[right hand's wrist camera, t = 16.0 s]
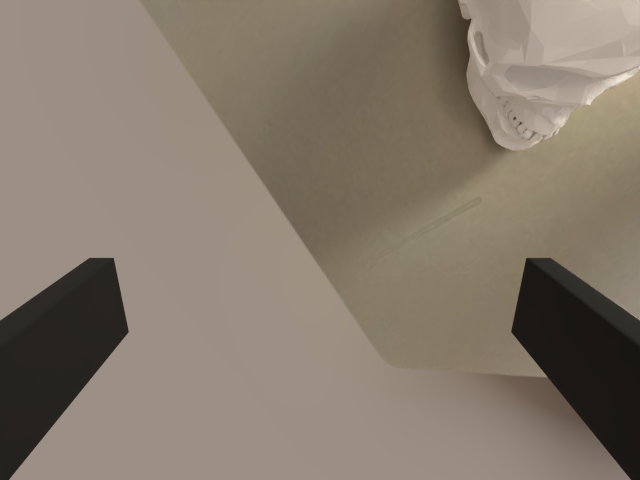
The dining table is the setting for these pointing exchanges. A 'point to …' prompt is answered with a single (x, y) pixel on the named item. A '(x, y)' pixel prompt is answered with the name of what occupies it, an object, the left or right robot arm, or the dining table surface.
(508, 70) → the skull
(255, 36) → the dining table surface
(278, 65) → the dining table surface
